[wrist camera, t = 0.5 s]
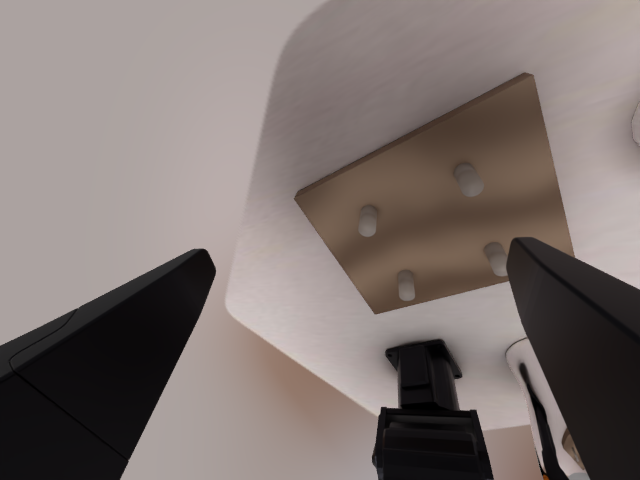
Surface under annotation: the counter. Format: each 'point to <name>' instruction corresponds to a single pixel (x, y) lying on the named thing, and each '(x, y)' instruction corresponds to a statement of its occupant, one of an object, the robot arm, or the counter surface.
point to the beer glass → (545, 418)
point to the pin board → (443, 201)
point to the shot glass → (636, 125)
